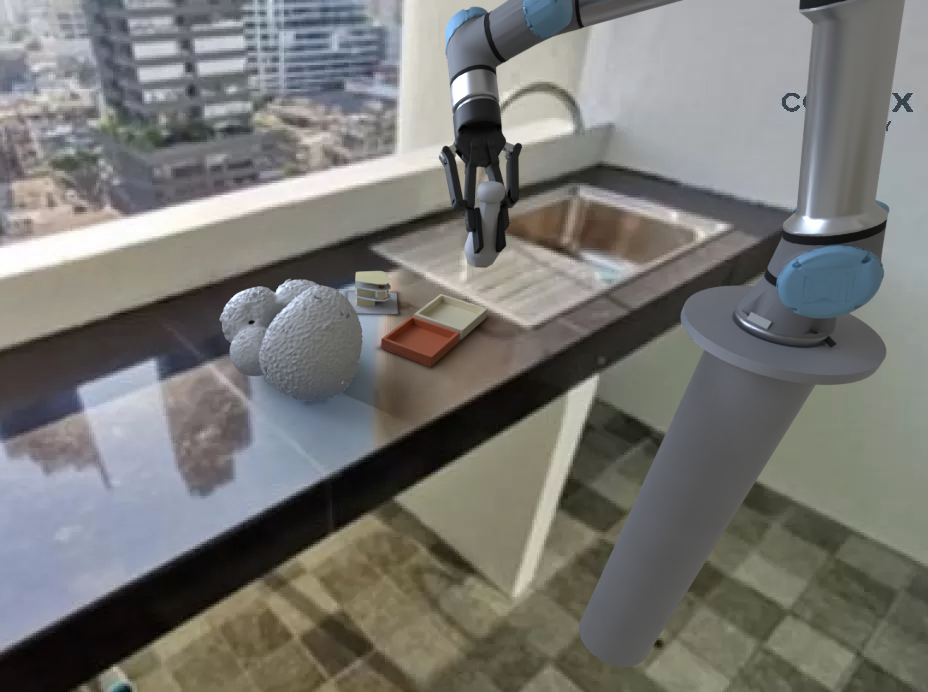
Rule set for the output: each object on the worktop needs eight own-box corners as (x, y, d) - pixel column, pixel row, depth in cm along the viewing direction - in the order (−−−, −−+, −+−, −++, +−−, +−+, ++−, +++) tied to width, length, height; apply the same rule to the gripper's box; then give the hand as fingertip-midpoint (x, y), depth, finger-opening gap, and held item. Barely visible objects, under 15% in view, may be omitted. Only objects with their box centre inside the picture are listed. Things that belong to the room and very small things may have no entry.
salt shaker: (504, 262, 102) (519, 183, 93) (484, 273, 99) (498, 192, 90) (475, 252, 105) (487, 175, 97) (455, 262, 102) (466, 183, 94)
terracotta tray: (458, 341, 110) (460, 332, 108) (430, 367, 103) (431, 357, 102) (410, 325, 114) (411, 315, 113) (380, 348, 108) (381, 338, 107)
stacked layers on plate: (346, 313, 118) (346, 287, 115) (348, 292, 125) (348, 267, 121) (397, 314, 118) (399, 288, 114) (396, 292, 124) (398, 267, 121)
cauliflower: (323, 286, 111) (289, 208, 91) (397, 387, 102) (378, 325, 81) (231, 347, 112) (176, 284, 91) (296, 454, 102) (251, 409, 82)
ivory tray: (486, 317, 116) (488, 308, 115) (461, 340, 110) (462, 330, 109) (439, 302, 121) (441, 293, 120) (413, 323, 115) (413, 313, 114)
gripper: (515, 122, 103) (529, 256, 101) (422, 125, 101) (435, 261, 100) (532, 93, 95) (548, 237, 93) (432, 97, 94) (446, 243, 92)
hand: (490, 249), depth 96 cm, fingers closed on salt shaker, 3 cm apart
